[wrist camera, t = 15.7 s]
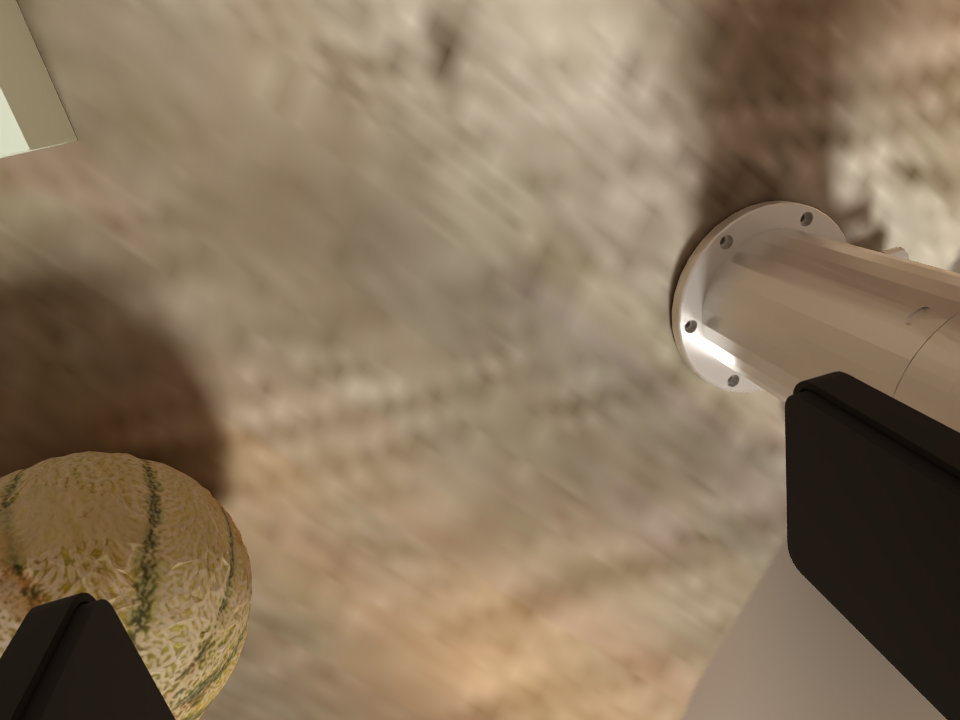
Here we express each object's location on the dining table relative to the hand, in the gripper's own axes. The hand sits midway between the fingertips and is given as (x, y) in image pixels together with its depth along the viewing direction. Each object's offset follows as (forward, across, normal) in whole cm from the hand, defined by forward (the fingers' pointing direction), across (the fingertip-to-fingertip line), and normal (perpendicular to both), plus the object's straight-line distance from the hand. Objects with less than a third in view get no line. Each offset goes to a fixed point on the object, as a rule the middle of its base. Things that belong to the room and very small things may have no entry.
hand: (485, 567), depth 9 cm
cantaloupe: (+29, +18, +13) cm, 36 cm away
